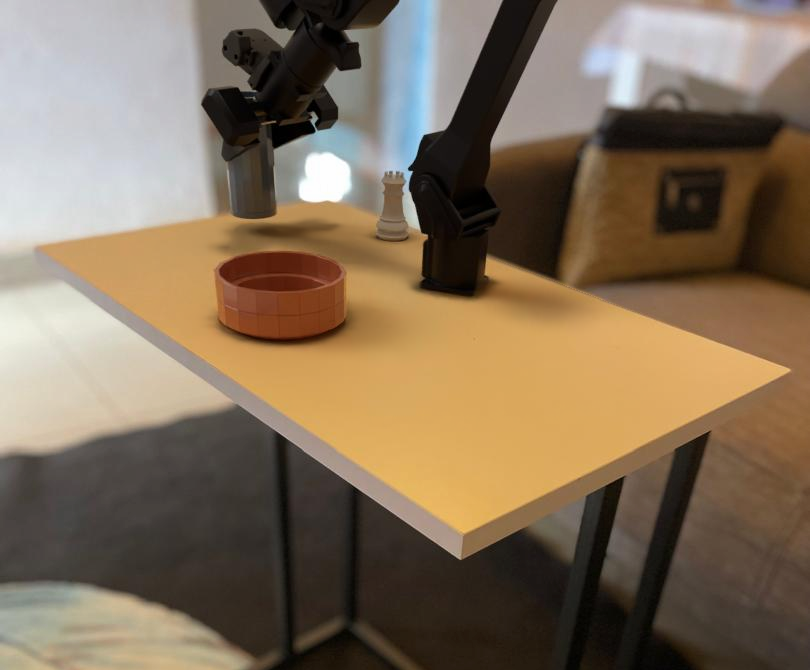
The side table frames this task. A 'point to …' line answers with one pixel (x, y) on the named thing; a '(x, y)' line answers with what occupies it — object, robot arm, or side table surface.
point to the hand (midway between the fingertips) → (242, 154)
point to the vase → (253, 177)
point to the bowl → (281, 294)
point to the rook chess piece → (393, 209)
